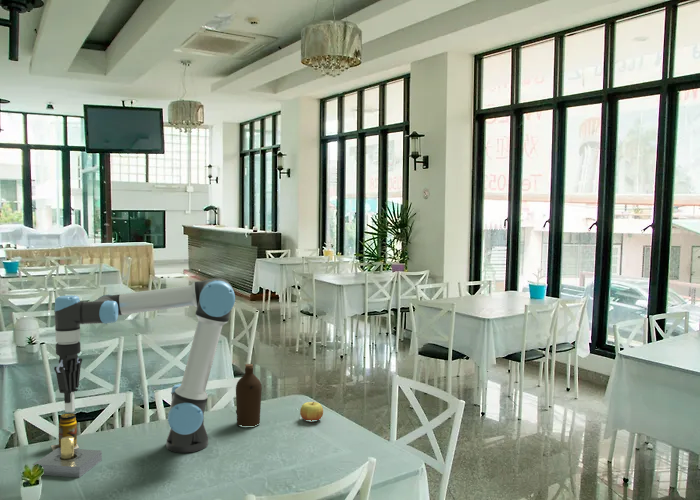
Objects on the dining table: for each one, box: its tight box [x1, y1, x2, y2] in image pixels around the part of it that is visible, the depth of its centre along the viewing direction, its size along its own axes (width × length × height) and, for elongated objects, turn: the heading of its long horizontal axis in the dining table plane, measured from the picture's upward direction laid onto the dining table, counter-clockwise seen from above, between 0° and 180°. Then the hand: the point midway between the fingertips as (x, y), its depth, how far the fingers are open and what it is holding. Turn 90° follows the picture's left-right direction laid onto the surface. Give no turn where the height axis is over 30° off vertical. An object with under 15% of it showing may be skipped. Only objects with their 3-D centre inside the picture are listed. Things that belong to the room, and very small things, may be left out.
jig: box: [32, 448, 103, 478], centre depth 203 cm, size 16×14×4 cm
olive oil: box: [235, 363, 263, 426], centre depth 248 cm, size 11×11×25 cm
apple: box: [299, 401, 324, 421], centre depth 255 cm, size 10×10×8 cm
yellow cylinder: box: [61, 436, 74, 460], centre depth 203 cm, size 4×4×10 cm
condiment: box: [50, 412, 80, 451], centre depth 220 cm, size 7×8×12 cm
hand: (69, 411), depth 202 cm, fingers closed
